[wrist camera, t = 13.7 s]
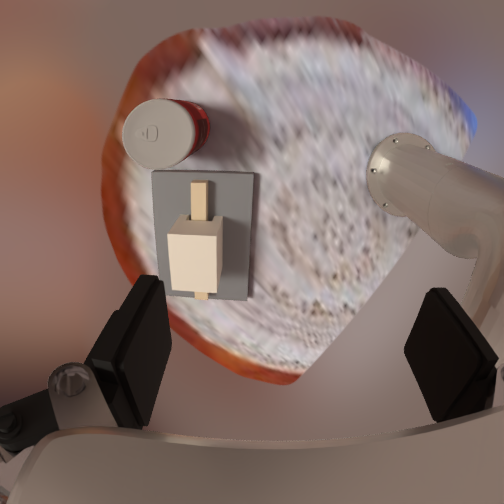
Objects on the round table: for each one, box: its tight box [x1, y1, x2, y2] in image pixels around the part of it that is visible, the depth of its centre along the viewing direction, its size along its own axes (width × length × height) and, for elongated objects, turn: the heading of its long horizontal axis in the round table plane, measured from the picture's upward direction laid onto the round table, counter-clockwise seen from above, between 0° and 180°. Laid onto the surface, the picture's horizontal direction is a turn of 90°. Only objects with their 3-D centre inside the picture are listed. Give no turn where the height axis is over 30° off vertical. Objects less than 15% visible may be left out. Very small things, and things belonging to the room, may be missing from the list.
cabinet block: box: [167, 214, 223, 293], centre depth 41 cm, size 6×9×7 cm
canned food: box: [122, 99, 210, 170], centre depth 33 cm, size 8×8×11 cm
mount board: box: [151, 170, 254, 301], centre depth 44 cm, size 14×20×3 cm
